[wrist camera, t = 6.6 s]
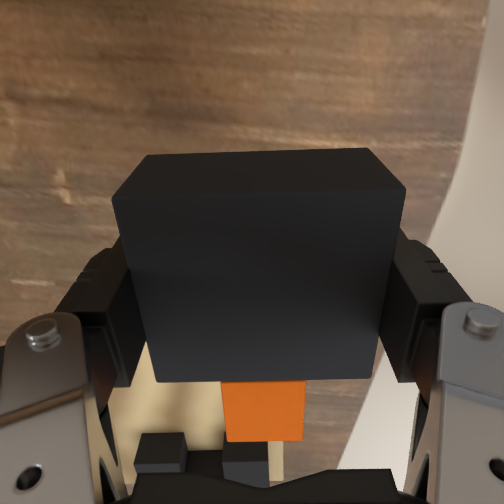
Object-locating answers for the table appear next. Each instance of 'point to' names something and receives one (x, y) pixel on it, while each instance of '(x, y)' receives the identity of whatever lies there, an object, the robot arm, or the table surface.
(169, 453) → the dark grey u-shaped block
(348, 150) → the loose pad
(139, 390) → the board
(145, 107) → the table surface
